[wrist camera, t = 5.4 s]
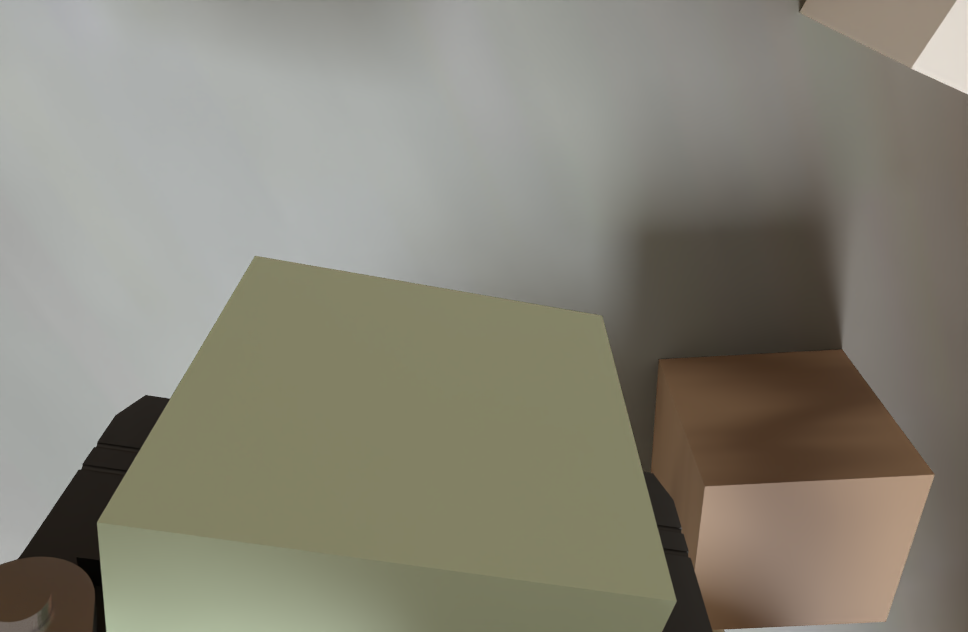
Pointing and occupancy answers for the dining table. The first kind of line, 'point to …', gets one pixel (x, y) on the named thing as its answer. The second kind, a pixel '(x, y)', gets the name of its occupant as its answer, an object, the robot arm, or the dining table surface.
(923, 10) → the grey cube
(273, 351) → the sage cube
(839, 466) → the walnut cube
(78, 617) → the robot arm
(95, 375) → the dining table surface
